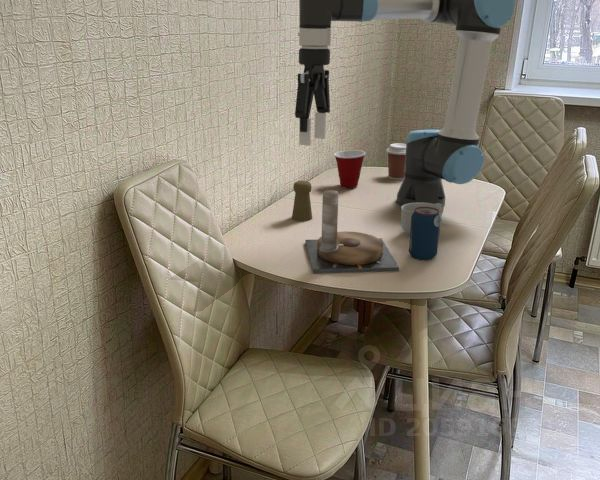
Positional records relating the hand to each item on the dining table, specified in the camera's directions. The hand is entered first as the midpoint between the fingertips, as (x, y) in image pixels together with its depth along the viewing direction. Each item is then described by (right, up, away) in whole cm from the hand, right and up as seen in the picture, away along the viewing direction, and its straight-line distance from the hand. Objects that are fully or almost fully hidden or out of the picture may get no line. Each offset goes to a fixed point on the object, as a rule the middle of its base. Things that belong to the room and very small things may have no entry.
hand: (312, 141), depth 148 cm
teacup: (+31, -23, +12) cm, 40 cm away
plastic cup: (+14, -6, +55) cm, 57 cm away
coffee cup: (+33, -2, +67) cm, 75 cm away
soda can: (+27, -29, -4) cm, 40 cm away
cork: (-3, -19, +23) cm, 30 cm away
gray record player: (+9, -29, -4) cm, 31 cm away
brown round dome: (+9, -28, -5) cm, 30 cm away
